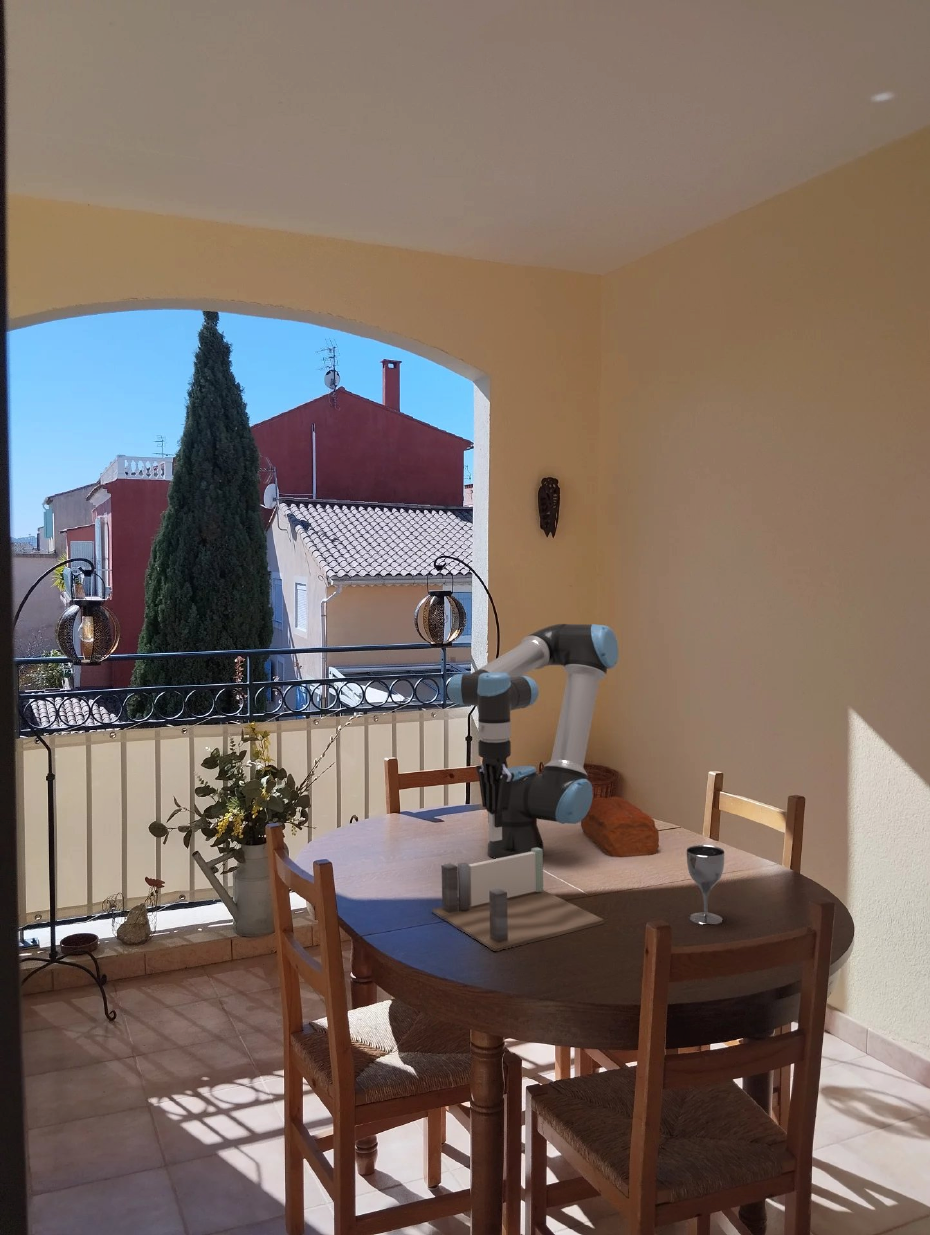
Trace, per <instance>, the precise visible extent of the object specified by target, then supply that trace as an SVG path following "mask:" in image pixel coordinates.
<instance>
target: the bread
mask: <svg viewBox="0 0 930 1235" xmlns="http://www.w3.org/2000/svg"><path fill="white" fill-rule="evenodd" d="M580 827H581V829H582V832H583V834H584V835H586V836H587V837H588V838H589V839H590V840H591V842H592V841H593V843H595V844H596V846H598V847H599V848H600V849H601V850H602V851H604V852H605V853H606V854H607V855H609V856H611V857H615V858H617V857H618V858H627V857H641V856H642V857H644V856H650V855H655V854H656V853H657V851H658V850H659V848H660V844H659V842H660V841H659V840H660V839H659V838H660V836H659V834H660V833H659V829H658V828H657V827H656V822H655V819H653V817H651V816H650V815H648V814H647V813H645V812H643V810H641V808H638V807H637V806H636V805H634V804H632V803H631V802H629V801H628V800H626V799H624V798H623V797H620V796H608V797H607V798H606V797H593V798H592V803H591V806H590V809H589V811H588V813H587V815H586V816H585V818H583V819H582V821H580Z"/></svg>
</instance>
